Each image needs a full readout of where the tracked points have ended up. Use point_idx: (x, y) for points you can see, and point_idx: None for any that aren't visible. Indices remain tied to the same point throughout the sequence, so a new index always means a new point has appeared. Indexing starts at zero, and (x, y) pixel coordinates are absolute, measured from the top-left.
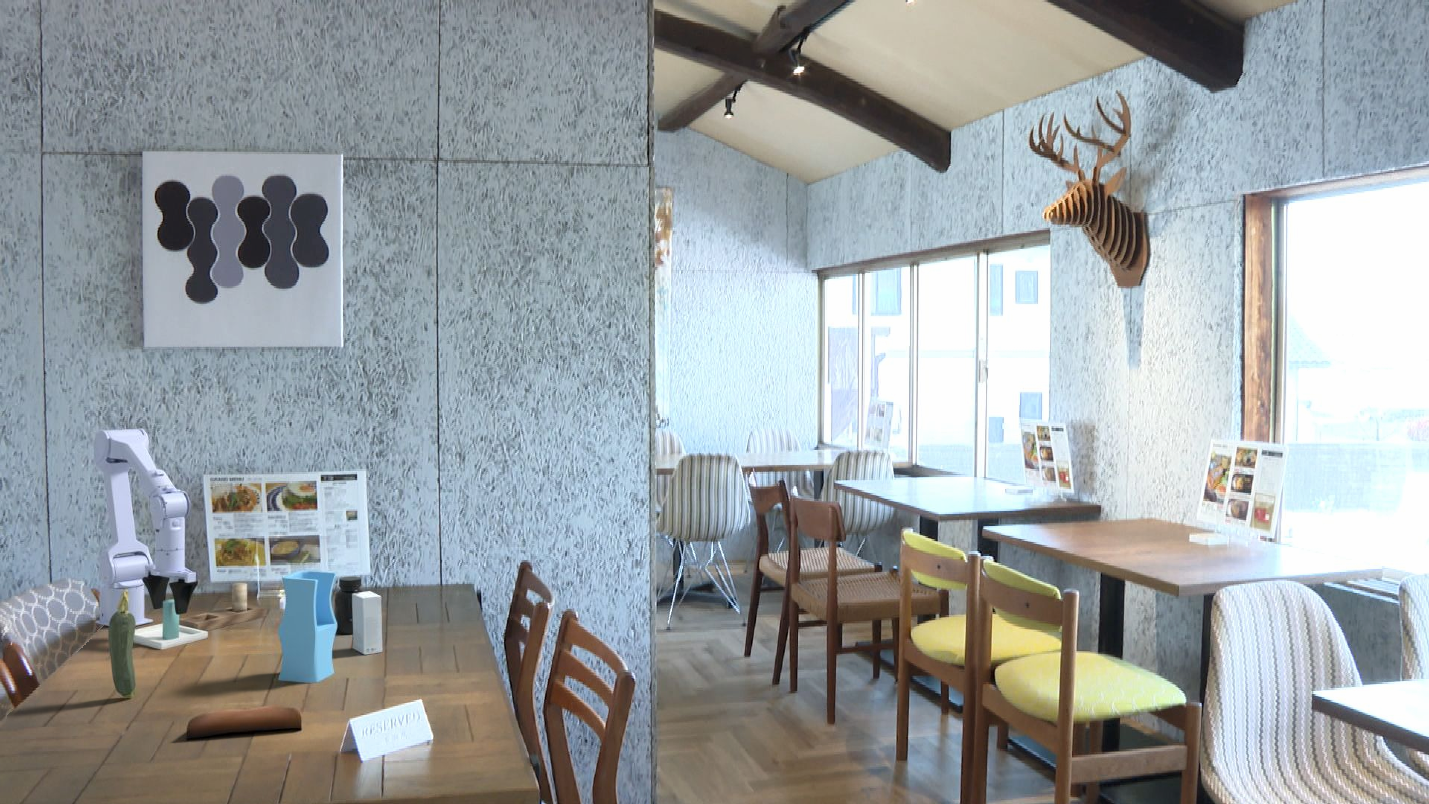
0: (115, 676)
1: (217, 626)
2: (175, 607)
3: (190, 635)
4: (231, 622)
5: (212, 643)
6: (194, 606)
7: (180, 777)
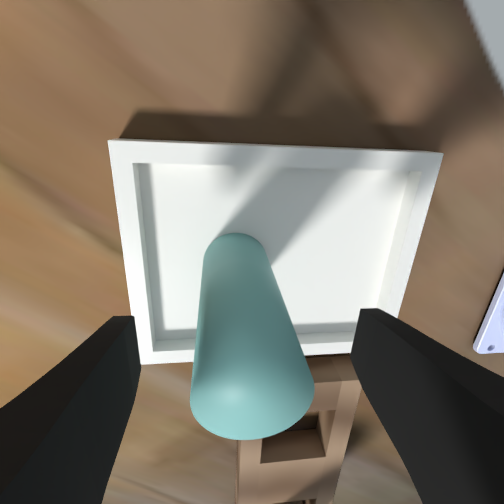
0: None
1: None
2: (102, 342)
3: (138, 299)
4: (237, 461)
5: (55, 319)
6: None
7: None
